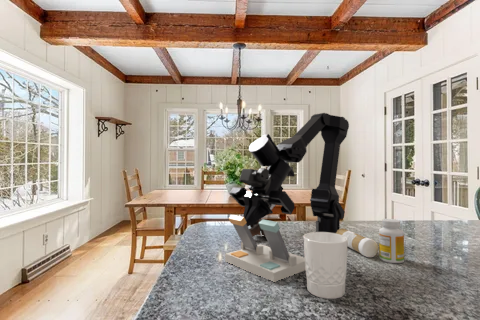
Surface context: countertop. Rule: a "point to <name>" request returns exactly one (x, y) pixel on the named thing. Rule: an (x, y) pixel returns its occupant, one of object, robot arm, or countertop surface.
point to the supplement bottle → (391, 241)
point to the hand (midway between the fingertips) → (243, 226)
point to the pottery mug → (256, 228)
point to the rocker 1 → (243, 232)
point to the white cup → (325, 264)
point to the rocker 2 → (275, 240)
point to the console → (265, 262)
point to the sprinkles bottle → (359, 243)
